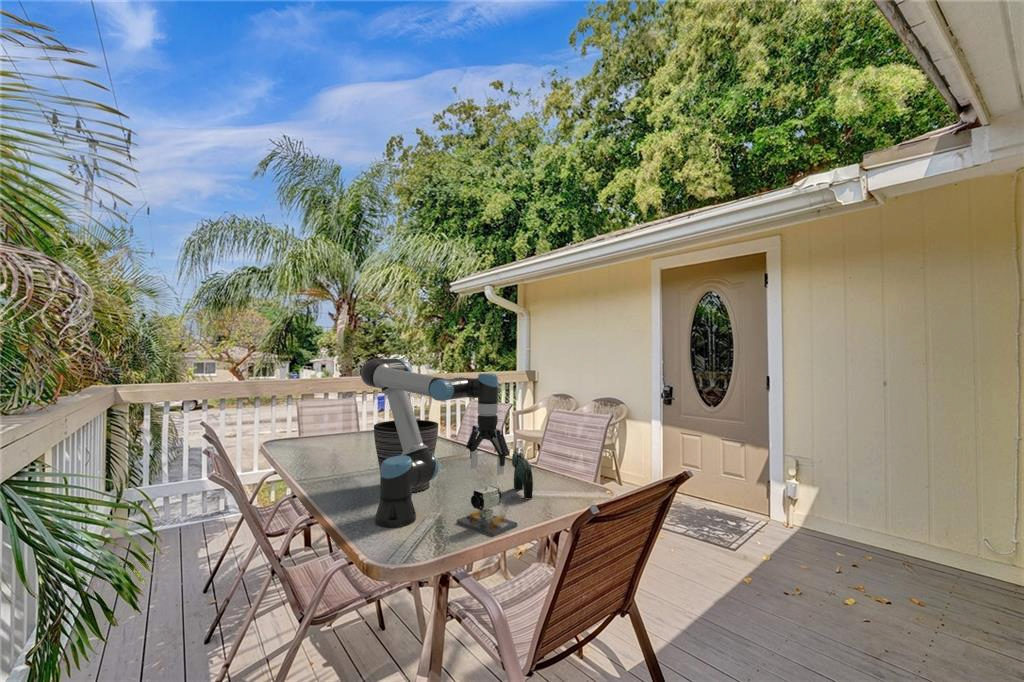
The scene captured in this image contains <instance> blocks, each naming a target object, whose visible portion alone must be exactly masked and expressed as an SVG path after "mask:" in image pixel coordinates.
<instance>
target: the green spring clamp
mask: <svg viewBox="0 0 1024 682" xmlns="http://www.w3.org/2000/svg"><path fill="white" fill-rule="evenodd" d="M511 456H512V457H511V458H512V459H511V464H512V467H513V468H514V473H513V489H514V488H515V489H522V490H523V498H524V497H525V498H532V499H533V490H534V489H533V488H534V479H533V477H534V476H533V471H532V464H530V462H529V460H528V459H526V458H525V455H524V452H523V448H520V449H519V452H517V450H514V453H513V454H512V455H511ZM515 489H514V490H515ZM525 498H524V499H525Z"/></svg>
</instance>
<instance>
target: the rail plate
mask: <svg viewBox="0 0 1024 682" xmlns="http://www.w3.org/2000/svg"><path fill="white" fill-rule="evenodd" d="M480 513H481V512H480V510H479V509H477V510H476V511H473V512H470V513H469V514H466V516H464V517H461V518H459V519H456V524H457V523H458V525H460V524H461V526H463V525H464V526H463V527H467V528H469V529H471V528H472V530H474V529H475V531H477V530H478V531H477V532H480V531H481V532H480V533H483V532H484V533H483V534H485V533H486V535H488V534H489V535H488V536H491V535H492V536H491V537H495V535H496V536H498V535H500V534H502V532H503V533H505V532H506V530H507V531H509V529H510V530H512V529H514V528H517V527H518V522H516V521H512V520H510V519H506V518H505V516H497V515H494V514H493V516H492V517H493V518H492V519H490V520H487V521H485V520H483V519H480V517H479V514H480ZM511 528H512V529H511ZM504 531H505V532H504ZM499 533H500V534H499ZM497 534H498V535H497Z"/></svg>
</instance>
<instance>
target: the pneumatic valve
mask: <svg viewBox="0 0 1024 682" xmlns="http://www.w3.org/2000/svg"><path fill="white" fill-rule="evenodd" d="M501 499H502V491H501V490H500V488H498V487H495V486H492V485H491V486H485V487H483V488H480V489H475V490H473V492H472V496H471V497H470V504H471V506H472V507H473V509H476V510H480V512H481V513H480V514H479V517H480V519H483V520H485V521H487V520H490V519H492V518H493V517H492V516H493V515H494V510H493V509H492V508H494V507H497V506H500V503H501Z"/></svg>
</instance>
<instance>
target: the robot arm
mask: <svg viewBox="0 0 1024 682" xmlns="http://www.w3.org/2000/svg"><path fill="white" fill-rule="evenodd" d="M360 377H361V380H362V381H363V383H364V384H365V385H367V386H369V387H373V388H378V389H381V393H382V394H383V395H385V396H386V397H387V400H388V404H389V407H390V410H391V414H392V418H393V421H395V425H396V428H397V432H398V435H399V439H400V442H401V446H402V449H403V452H402V454H401V455H399V456H393V457H390V458H387V459H386V460H384V461H383V462H382V464H381V471H380V470H379V475H380V477H379V480H380V481H379V482H380V483H379V485H380V486H379V487H380V488H379V490H380V491H379V493H380V494H379V495H380V496H379V503H378V506H377V509H376V513H375V517H374V523H375V524H376V525H377V526H379V525H380V527H382V526H384V527H383V528H399V527H404V526H408V525H411V524H412V523H414V522H415V521H416V519H417V512H416V509H415V505H414V503H413V499H412V494H411V493H412V488H413V487H415V486H418V485H421V484H424V483H427V482H429V481H432V480H434V479H435V477H436V476H437V475H438V472H439V469H440V464H439V463H440V462H439V459H438V456H437V455H435V453H434V454H433V453H431V452H429V448H428V446H426V445H424V444H423V441H422V438H421V435H420V431H419V428H418V425H417V421H416V420H417V418H416V415H415V411H414V408H413V405H412V402H411V398H410V396H409V395H410V394H409V393H413V394H418V395H422V396H427V397H431V398H432V399H433V400H434V401H437V402H445V401H450V400H456V399H464V398H465V399H466V398H470V399H471V398H473V399H477V414H478V415H477V425H472V430H471V432H470V435H469V438H468V440H467V444H466V446H465V447H466V448H465V449H467V450H469V454H470V455H469V459H470V469H471V470H473V469H477V468H478V452H479V451H478V447H479V446H480V444H481V443H482V442H483V441H484V440H486V441H489V442H490V443H491V444H492V445H493V448H494V449H495V451H496V453H497V455H498V456H497V457H496V464H497V466H496V476H502V475H504V472H505V471H504V466H505V465H506V457H507V456H510V451H509V447H508V444H507V441H506V439H505V436H504V435H505V434H504V430H503V428H499V429H497V425H498V419H499V418H498V417H499V416H498V415H497V414H498V411H499V409H498V403H499V401H498V397H499V394H498V393H499V376H498V375H497V374H496V373H487V372H486V373H478V376H477V378H473V377H463V376H461V377H460V376H459V377H454V378H442V377H438V376H433V375H427V374H423V373H416V372H412V370H411V367H410V365H409V364H408V362H407V361H405V360H404V359H401V358H397V357H396V358H395V357H393V358H373V359H369V360H368V361H366V362H365V363H364V364H363V365H362V367H361V370H360Z"/></svg>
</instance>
